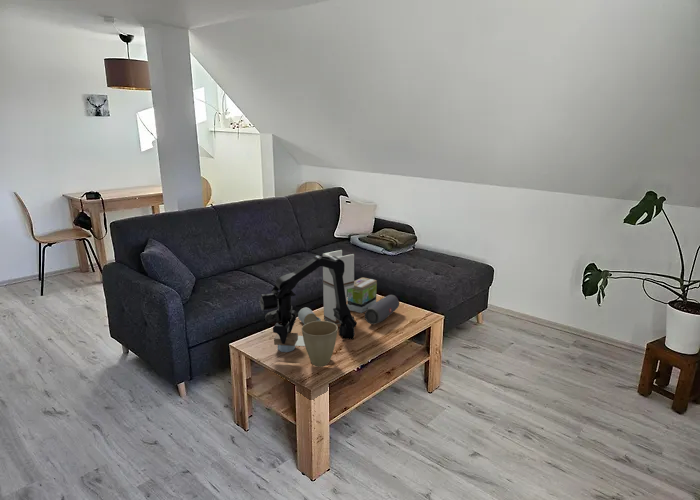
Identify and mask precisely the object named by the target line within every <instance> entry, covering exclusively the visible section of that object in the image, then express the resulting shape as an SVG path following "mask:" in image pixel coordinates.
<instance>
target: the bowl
mask: <svg viewBox="0 0 700 500" xmlns="http://www.w3.org/2000/svg"><path fill="white" fill-rule="evenodd" d="M295 349H296V346H288V345H277V350H278V351H279V352H281V353H289V352H292V351H295Z"/></svg>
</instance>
